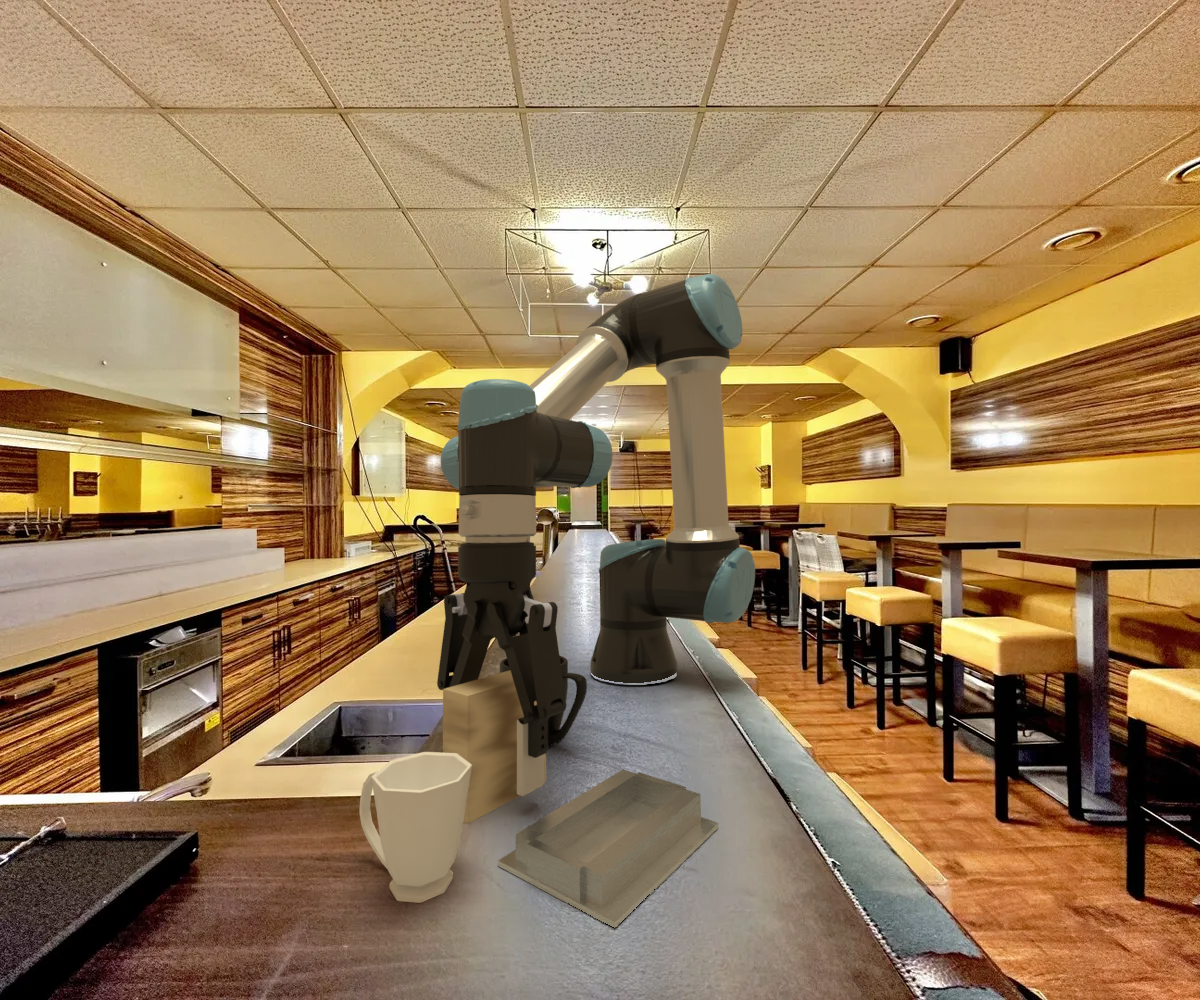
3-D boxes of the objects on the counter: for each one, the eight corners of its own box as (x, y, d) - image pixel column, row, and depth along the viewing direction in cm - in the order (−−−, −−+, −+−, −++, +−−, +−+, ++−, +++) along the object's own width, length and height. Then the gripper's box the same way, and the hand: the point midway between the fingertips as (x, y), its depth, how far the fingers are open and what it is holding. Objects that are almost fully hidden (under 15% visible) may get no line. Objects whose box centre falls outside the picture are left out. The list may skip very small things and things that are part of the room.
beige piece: (614, 791, 54) (614, 763, 54) (718, 827, 47) (717, 796, 48) (498, 865, 42) (498, 830, 42) (614, 929, 36) (614, 887, 36)
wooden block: (521, 772, 58) (521, 666, 59) (546, 782, 56) (545, 671, 57) (442, 811, 50) (443, 689, 51) (467, 824, 48) (467, 695, 49)
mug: (556, 770, 59) (556, 679, 59) (485, 742, 67) (485, 662, 67) (605, 746, 65) (605, 664, 66) (535, 723, 73) (535, 650, 73)
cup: (418, 930, 36) (419, 801, 36) (321, 882, 40) (323, 769, 41) (491, 871, 42) (491, 761, 42) (398, 835, 47) (400, 737, 47)
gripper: (401, 540, 58) (399, 761, 57) (550, 542, 45) (551, 829, 44) (460, 538, 64) (458, 739, 63) (606, 540, 51) (608, 792, 50)
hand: (497, 776), depth 53 cm, fingers open, 8 cm apart
